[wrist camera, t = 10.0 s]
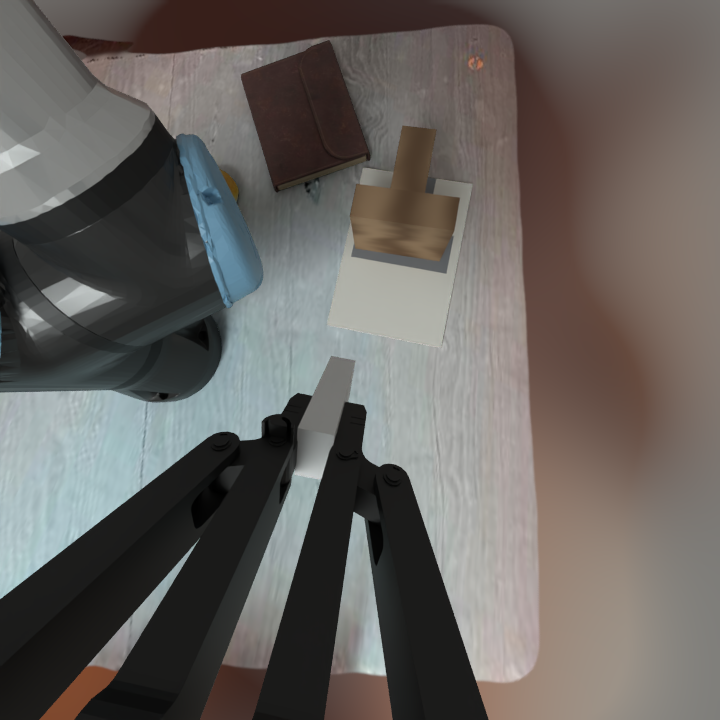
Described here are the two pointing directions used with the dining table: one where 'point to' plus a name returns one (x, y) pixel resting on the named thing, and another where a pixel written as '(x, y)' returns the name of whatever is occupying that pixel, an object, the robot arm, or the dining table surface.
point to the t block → (405, 206)
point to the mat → (399, 279)
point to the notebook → (304, 117)
